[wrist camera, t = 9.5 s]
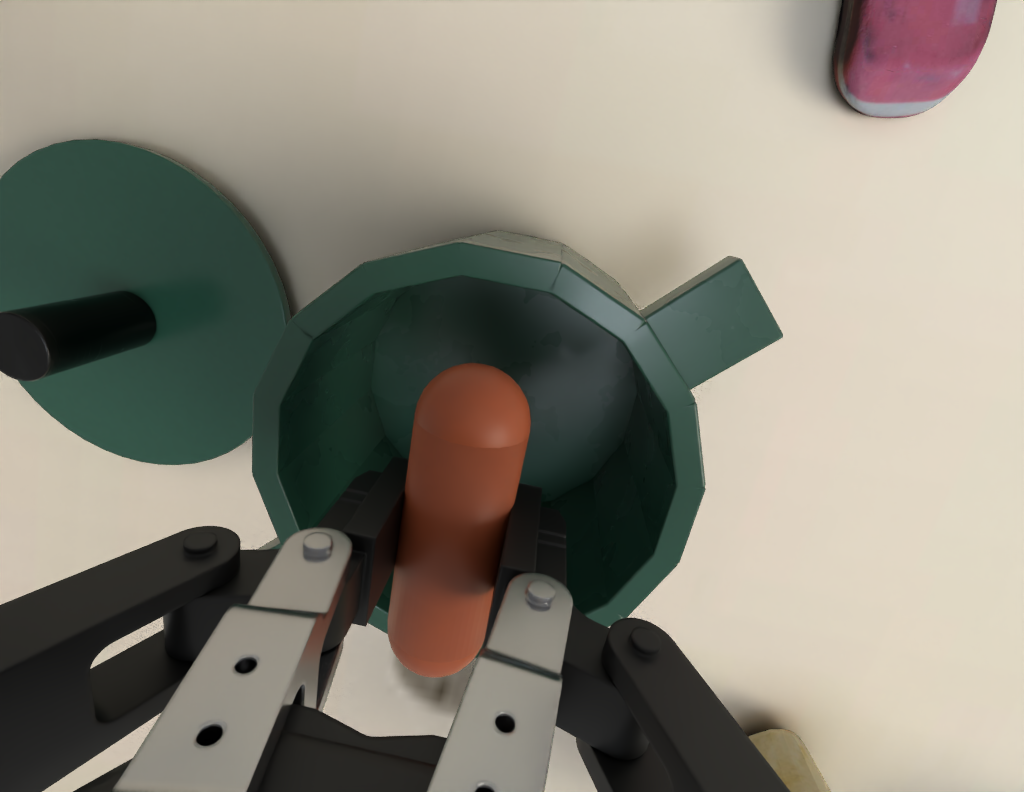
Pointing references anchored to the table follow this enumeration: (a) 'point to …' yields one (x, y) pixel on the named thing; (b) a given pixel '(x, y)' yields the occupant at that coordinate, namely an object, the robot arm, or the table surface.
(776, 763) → the food model
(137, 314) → the lid
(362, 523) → the robot arm
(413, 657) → the hot dog
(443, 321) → the pot
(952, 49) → the eraser
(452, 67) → the table surface
